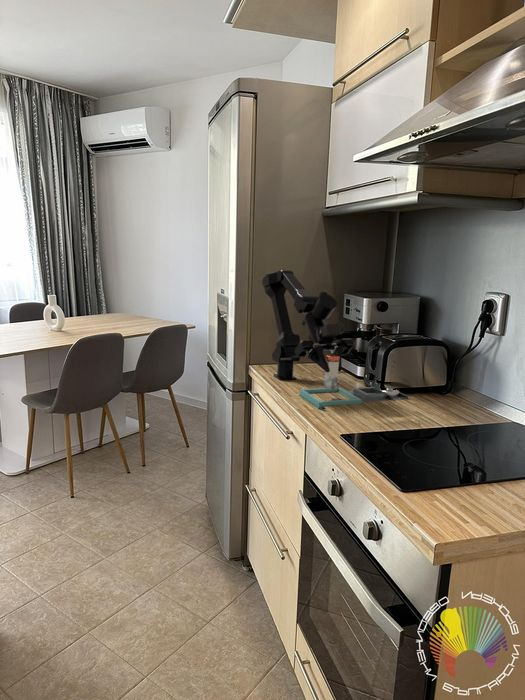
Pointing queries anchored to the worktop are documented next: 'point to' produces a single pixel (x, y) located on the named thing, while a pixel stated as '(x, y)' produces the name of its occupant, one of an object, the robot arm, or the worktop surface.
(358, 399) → the tray
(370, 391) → the block
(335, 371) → the pin
